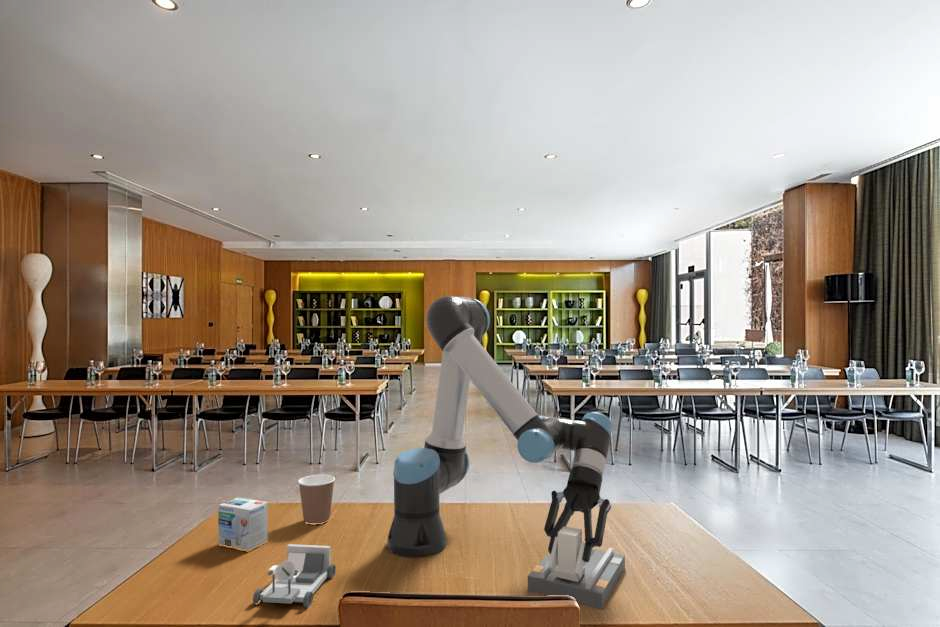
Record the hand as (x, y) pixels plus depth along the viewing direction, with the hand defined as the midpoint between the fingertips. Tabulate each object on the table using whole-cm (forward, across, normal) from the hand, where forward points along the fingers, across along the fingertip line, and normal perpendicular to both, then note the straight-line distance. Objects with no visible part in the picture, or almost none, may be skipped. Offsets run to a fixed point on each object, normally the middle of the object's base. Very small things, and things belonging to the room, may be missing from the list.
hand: (564, 572), depth 111 cm
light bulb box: (+13, +82, +5) cm, 83 cm away
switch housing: (-3, 0, -10) cm, 11 cm away
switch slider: (-1, 0, -4) cm, 4 cm away
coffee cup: (-1, +77, -10) cm, 77 cm away
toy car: (+22, +52, +13) cm, 58 cm away
